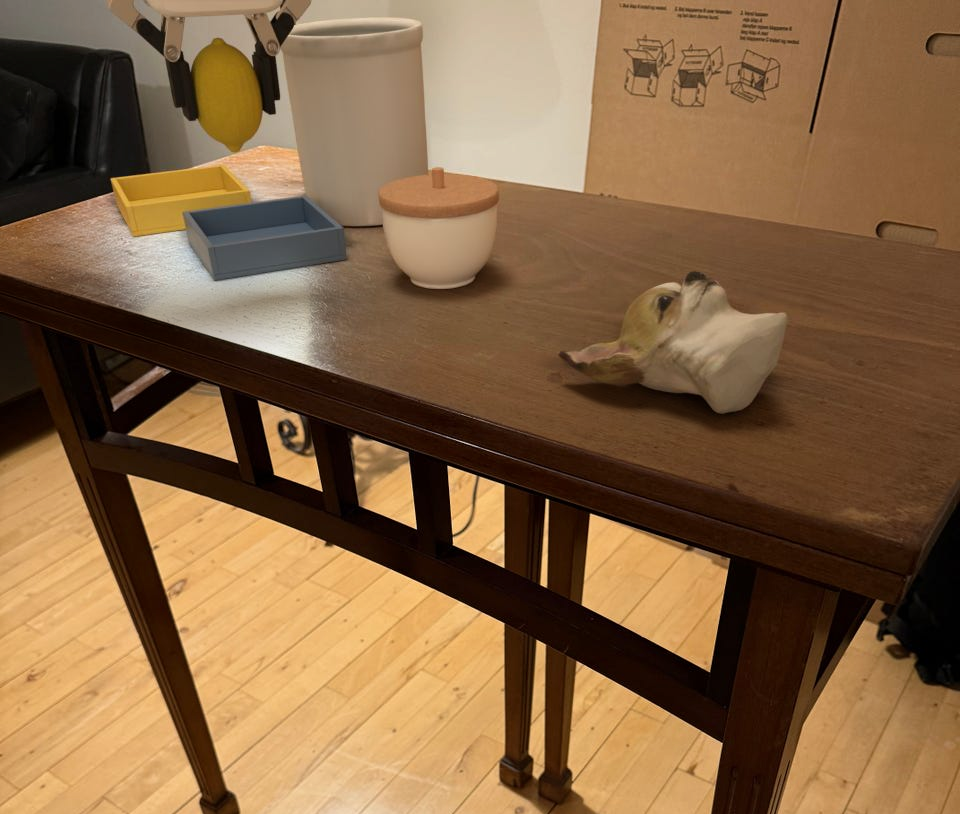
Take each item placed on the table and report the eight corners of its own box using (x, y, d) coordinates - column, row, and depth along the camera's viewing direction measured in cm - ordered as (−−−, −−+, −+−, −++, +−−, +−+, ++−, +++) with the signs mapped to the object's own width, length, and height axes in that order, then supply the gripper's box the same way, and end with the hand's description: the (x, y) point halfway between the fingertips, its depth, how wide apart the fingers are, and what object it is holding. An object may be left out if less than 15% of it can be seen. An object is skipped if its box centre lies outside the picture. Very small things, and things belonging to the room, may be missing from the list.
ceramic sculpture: (747, 312, 54) (550, 273, 62) (730, 447, 59) (552, 394, 67) (830, 268, 60) (641, 238, 68) (808, 394, 65) (635, 351, 73)
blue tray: (214, 280, 86) (207, 247, 84) (188, 242, 95) (182, 211, 93) (347, 259, 90) (343, 227, 88) (310, 224, 99) (306, 195, 97)
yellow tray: (133, 236, 97) (125, 206, 95) (117, 206, 106) (110, 178, 104) (254, 219, 101) (249, 190, 99) (229, 191, 110) (224, 164, 108)
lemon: (280, 154, 75) (265, 39, 69) (216, 163, 72) (196, 44, 67) (253, 142, 78) (237, 31, 73) (191, 150, 76) (170, 36, 71)
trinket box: (362, 281, 85) (350, 172, 79) (439, 252, 91) (434, 148, 85) (446, 307, 80) (441, 191, 74) (522, 274, 86) (523, 165, 80)
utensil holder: (276, 222, 100) (247, 32, 89) (342, 188, 111) (323, 14, 99) (396, 235, 96) (381, 37, 84) (452, 198, 106) (446, 17, 95)
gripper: (54, -194, 56) (126, 133, 68) (321, -187, 62) (345, 115, 73) (45, -189, 62) (113, 114, 73) (292, -183, 67) (319, 99, 79)
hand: (229, 112), depth 73 cm, fingers closed on lemon, 5 cm apart
